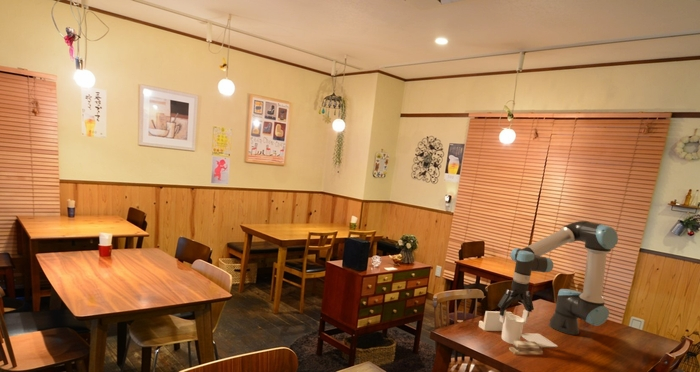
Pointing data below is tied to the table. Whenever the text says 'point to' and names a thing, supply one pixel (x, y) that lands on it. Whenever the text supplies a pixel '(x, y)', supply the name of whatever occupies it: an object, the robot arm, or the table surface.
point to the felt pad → (538, 339)
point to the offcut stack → (526, 347)
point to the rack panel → (492, 321)
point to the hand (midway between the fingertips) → (512, 322)
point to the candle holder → (512, 328)
